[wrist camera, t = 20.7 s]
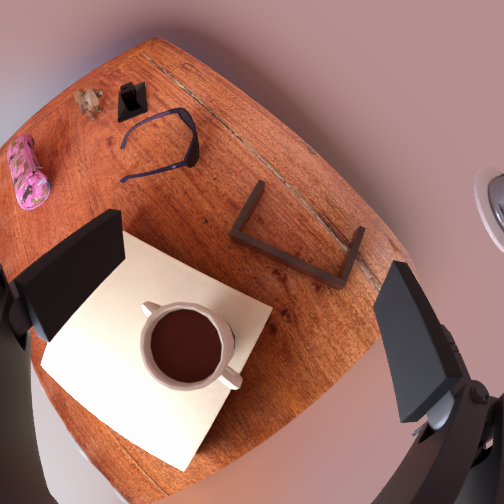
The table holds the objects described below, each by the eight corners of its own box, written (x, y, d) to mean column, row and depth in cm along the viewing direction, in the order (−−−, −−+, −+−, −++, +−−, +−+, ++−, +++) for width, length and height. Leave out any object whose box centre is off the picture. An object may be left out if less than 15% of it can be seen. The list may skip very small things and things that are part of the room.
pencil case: (60, 188, 45) (37, 167, 36) (33, 218, 43) (8, 202, 35) (40, 143, 49) (23, 125, 41) (17, 169, 48) (-2, 152, 39)
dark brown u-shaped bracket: (360, 233, 41) (365, 228, 39) (338, 290, 39) (344, 288, 36) (259, 187, 44) (259, 179, 41) (230, 239, 41) (228, 233, 39)
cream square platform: (270, 311, 38) (273, 307, 32) (193, 454, 32) (184, 471, 26) (122, 233, 42) (105, 220, 36) (61, 363, 35) (40, 365, 30)
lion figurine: (115, 108, 51) (101, 82, 42) (100, 124, 49) (83, 99, 41) (84, 99, 53) (71, 77, 44) (71, 113, 52) (56, 92, 43)
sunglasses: (205, 170, 45) (201, 153, 40) (121, 196, 44) (109, 183, 39) (194, 118, 48) (189, 100, 44) (121, 141, 47) (111, 126, 43)
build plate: (119, 92, 52) (113, 80, 48) (146, 82, 53) (141, 68, 49) (118, 123, 49) (110, 109, 45) (148, 111, 50) (142, 96, 45)
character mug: (159, 332, 32) (107, 331, 19) (194, 290, 33) (159, 266, 21) (226, 390, 30) (208, 426, 17) (263, 347, 31) (269, 358, 19)
